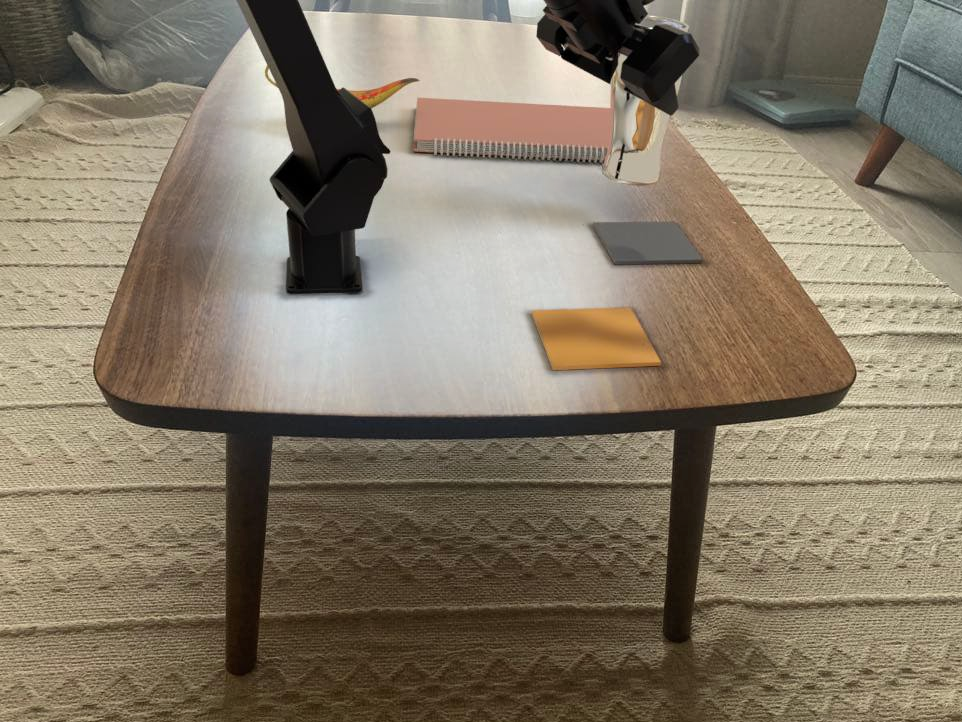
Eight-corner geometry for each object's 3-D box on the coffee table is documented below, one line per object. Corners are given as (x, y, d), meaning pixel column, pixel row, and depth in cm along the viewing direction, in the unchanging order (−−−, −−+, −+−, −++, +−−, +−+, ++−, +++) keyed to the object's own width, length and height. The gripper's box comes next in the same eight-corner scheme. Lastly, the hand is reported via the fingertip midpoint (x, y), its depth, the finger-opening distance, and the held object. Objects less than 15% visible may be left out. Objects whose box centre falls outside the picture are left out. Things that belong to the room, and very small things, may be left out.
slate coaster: (702, 263, 92) (702, 259, 92) (614, 264, 90) (615, 261, 90) (674, 224, 99) (674, 221, 99) (592, 225, 97) (592, 222, 97)
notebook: (413, 156, 110) (413, 139, 108) (417, 110, 123) (417, 95, 122) (639, 167, 112) (642, 151, 111) (619, 121, 126) (621, 106, 125)
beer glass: (600, 184, 93) (622, 25, 85) (594, 161, 98) (614, 11, 90) (668, 190, 93) (697, 33, 85) (658, 167, 99) (684, 18, 91)
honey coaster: (660, 365, 76) (661, 361, 75) (552, 370, 74) (553, 366, 74) (630, 311, 83) (630, 307, 83) (531, 314, 81) (531, 310, 81)
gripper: (704, -70, 74) (772, 64, 86) (575, -106, 87) (650, 15, 98) (610, 38, 75) (690, 156, 86) (496, -14, 87) (579, 96, 99)
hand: (652, 100), depth 92 cm, fingers closed on beer glass, 7 cm apart
